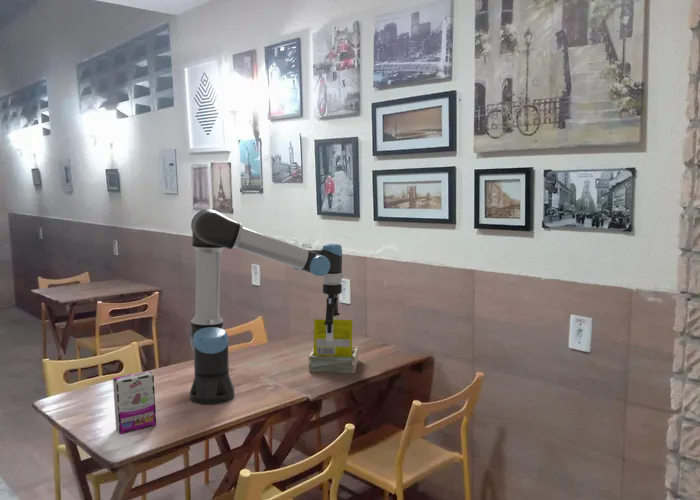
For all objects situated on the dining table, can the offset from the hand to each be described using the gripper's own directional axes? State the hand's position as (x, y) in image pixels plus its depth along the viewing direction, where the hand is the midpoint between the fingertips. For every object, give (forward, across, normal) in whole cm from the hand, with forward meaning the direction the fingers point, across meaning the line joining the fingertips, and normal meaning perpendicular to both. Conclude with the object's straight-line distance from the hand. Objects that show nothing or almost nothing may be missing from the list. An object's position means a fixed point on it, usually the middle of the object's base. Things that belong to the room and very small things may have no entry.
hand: (331, 336), depth 233 cm
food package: (+14, 0, 0) cm, 14 cm away
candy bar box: (+15, -60, +53) cm, 81 cm away
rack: (+14, +5, 0) cm, 15 cm away
